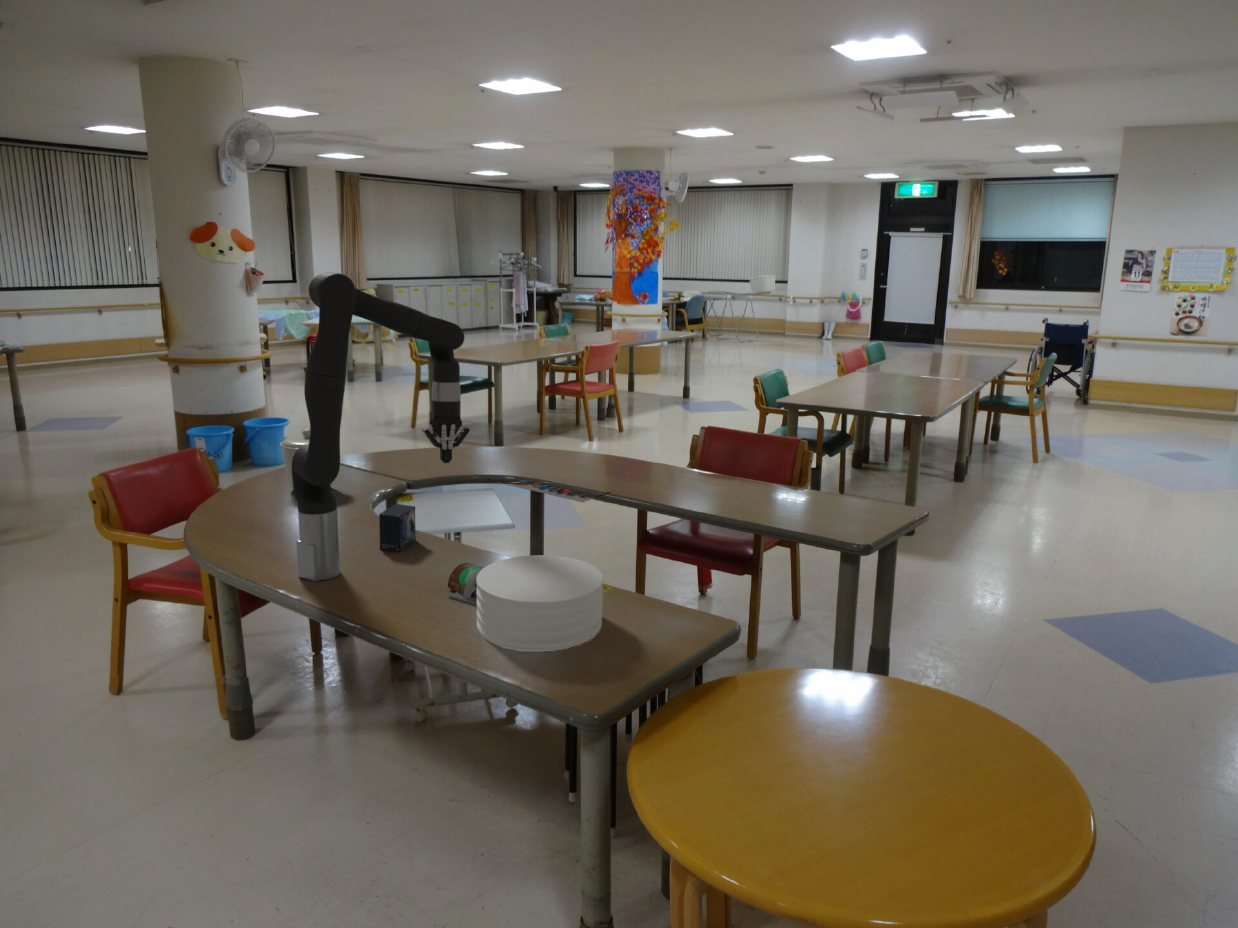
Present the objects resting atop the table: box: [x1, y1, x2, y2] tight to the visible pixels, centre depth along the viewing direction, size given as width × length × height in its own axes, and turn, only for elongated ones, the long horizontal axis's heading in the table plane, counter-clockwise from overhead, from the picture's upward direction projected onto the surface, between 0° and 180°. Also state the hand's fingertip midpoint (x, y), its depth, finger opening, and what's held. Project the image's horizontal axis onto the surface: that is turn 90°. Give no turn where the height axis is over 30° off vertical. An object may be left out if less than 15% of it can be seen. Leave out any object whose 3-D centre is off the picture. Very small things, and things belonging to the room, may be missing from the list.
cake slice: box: [447, 562, 486, 600], centre depth 210 cm, size 12×6×10 cm
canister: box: [279, 428, 333, 492], centre depth 288 cm, size 18×18×21 cm
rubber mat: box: [449, 591, 477, 607], centre depth 211 cm, size 18×10×1 cm, turn 149°
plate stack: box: [476, 554, 604, 650], centre depth 192 cm, size 28×28×12 cm
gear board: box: [496, 480, 595, 503], centre depth 306 cm, size 45×2×19 cm
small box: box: [378, 503, 417, 553], centre depth 239 cm, size 11×6×10 cm, turn 168°
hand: (446, 462), depth 231 cm, fingers closed
